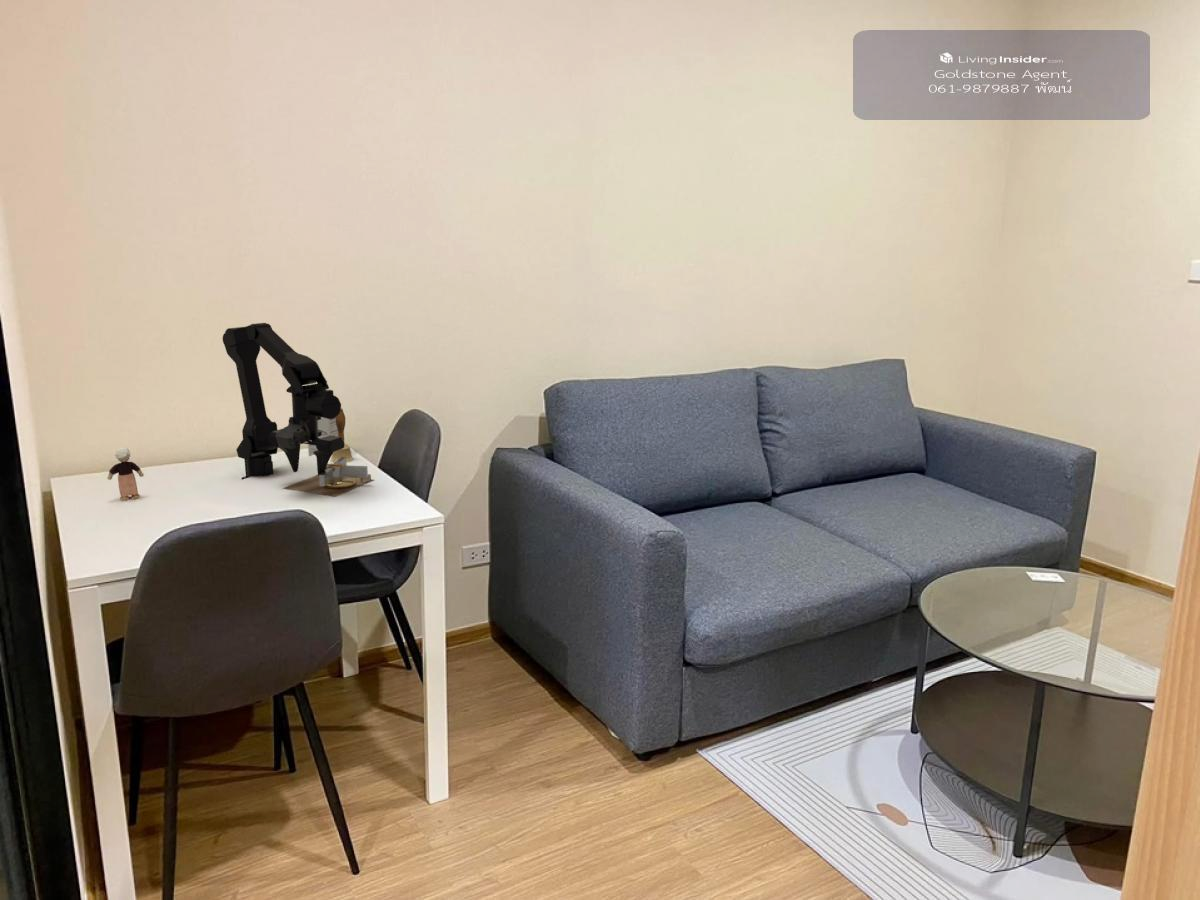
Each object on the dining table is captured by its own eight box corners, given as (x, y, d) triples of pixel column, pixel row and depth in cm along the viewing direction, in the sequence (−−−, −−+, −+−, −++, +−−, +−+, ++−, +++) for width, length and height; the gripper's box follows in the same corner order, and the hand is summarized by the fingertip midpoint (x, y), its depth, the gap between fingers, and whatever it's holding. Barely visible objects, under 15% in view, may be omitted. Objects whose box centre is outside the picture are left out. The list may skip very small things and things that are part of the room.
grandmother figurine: (141, 493, 228) (136, 443, 224) (147, 497, 225) (141, 446, 222) (108, 499, 222) (101, 448, 219) (113, 503, 220) (107, 452, 217)
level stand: (282, 494, 230) (281, 482, 229) (324, 477, 244) (323, 466, 243) (335, 502, 224) (334, 490, 223) (375, 485, 238) (374, 474, 237)
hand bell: (333, 460, 260) (330, 405, 256) (362, 462, 260) (359, 406, 256) (322, 468, 252) (318, 411, 248) (351, 470, 252) (349, 412, 248)
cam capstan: (312, 493, 225) (311, 473, 223) (335, 474, 241) (334, 455, 240) (357, 494, 224) (356, 474, 223) (377, 475, 241) (376, 456, 239)
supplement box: (307, 456, 264) (305, 413, 260) (322, 450, 271) (319, 408, 267) (330, 459, 262) (328, 415, 259) (344, 452, 269) (342, 410, 266)
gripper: (250, 414, 221) (254, 476, 225) (314, 423, 214) (317, 487, 218) (283, 405, 231) (286, 465, 235) (344, 414, 224) (346, 476, 228)
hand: (307, 473), depth 229 cm, fingers open, 7 cm apart
